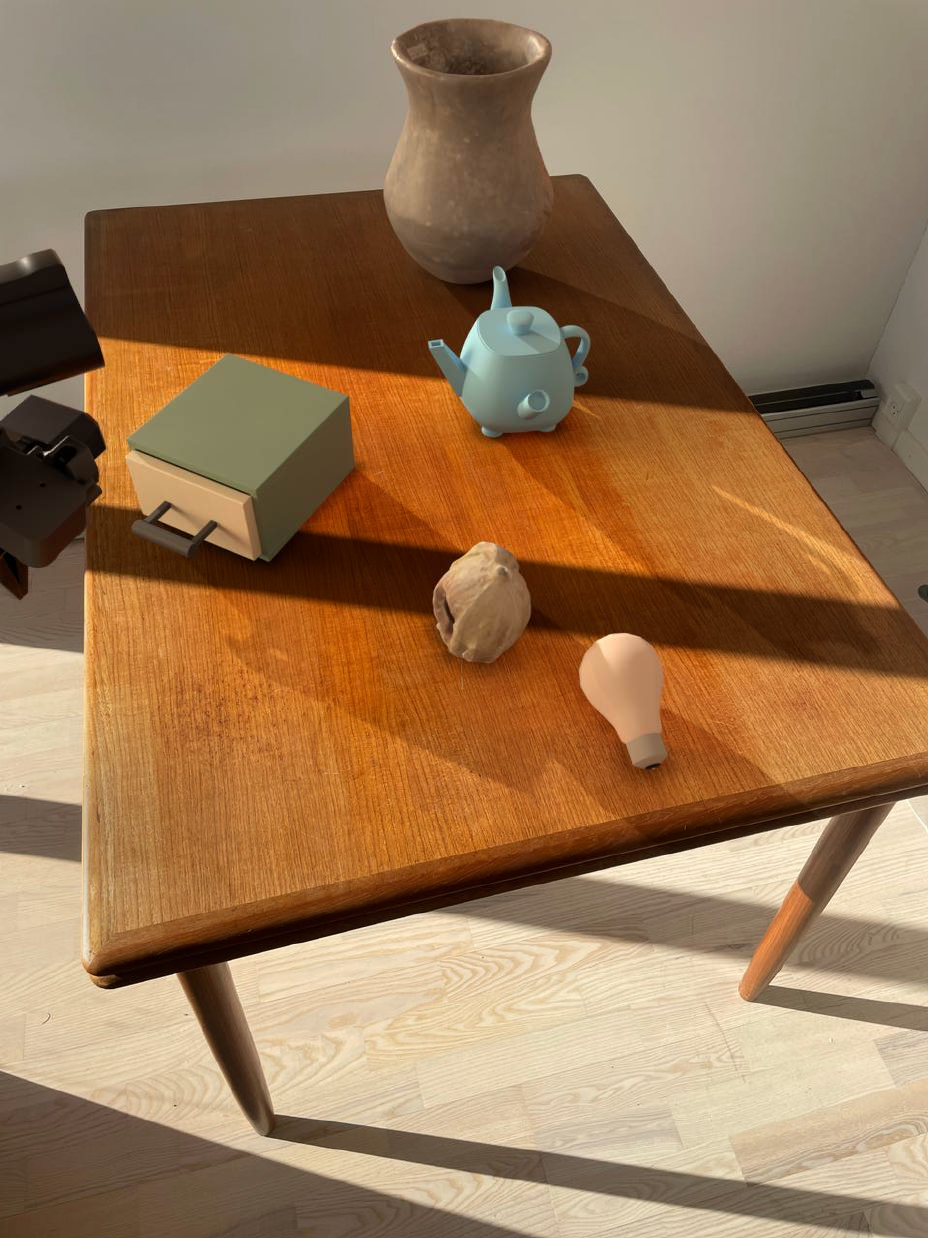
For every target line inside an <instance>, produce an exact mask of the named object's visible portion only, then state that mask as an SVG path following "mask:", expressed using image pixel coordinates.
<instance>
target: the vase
mask: <svg viewBox="0 0 928 1238" xmlns="http://www.w3.org/2000/svg"><path fill="white" fill-rule="evenodd" d="M390 52H391V55H392V58H393V61H394V63H395V65H396V67H397V69H398V71H399V73H400V75H401V77H402V79H403V82H404V85H405V88H406V94H407V99H408V105H407V106H408V108H407V112H406V113H407V114H406V117H405V121H404V125H403V128H402V131H401V134H400V136H399V140H398V142H397V145H396V148H395V151H394V153H393V156H392V159H391V161H390V164H389V167H388V170H387V173H386V177H385V180H384V185H383V201H384V205H385V210H386V214H387V217H388V220H389V222H390V224H391V227H392V229H393V231H394V233H395V235H396V236H397V238H398V240H399V242H400V243H401V245H402V246H403V247H404V249H405V251H406V252H407V253H408V255H410V257H411V258H412V259H413V260H414V261H415V262H416V263H417V265H419V266H420V267H421V268H423V269H424V270H425V271H426V272H428V273H429V274H431V275H432V276H433V277H435V278H437V279H439V280H441V281H444V282H447V283H451V284H455V285H476V284H481V283H485V282H488V281H490V280H494V278H493V269H494V267H496V266H499V267H501V268H502V269H503V271H504V272H505V273H506V272H508V271H509V270H511V269H512V268H513V267H515V266H516V265H518V264H519V263H520V262H521V261H522V260H523V259H524V258H526V256H527V255H528V254H529V253H530V252H531V250H532V249H533V248H534V247H535V245H537V243H538V241H539V240H540V239H541V237H542V235H543V233H545V230H546V228H547V226H548V223H549V221H550V218H551V215H552V212H553V210H554V203H555V195H554V189H553V182H552V178H551V176H550V174H549V171H548V169H547V166H546V164H545V161H544V158H543V155H542V152H541V150H540V146H539V143H538V139H537V135H536V130H535V126H534V123H533V118H532V106H533V100H534V97H535V95H536V92H537V91H538V88H539V86H540V83H541V80H542V78H543V76H544V74H545V73H546V71H547V69H548V66H549V64H550V61H551V60H552V59H551V58H552V55H553V47H552V42H551V41H550V40H549V39H548V38H547V37H546V36H544V35H543V34H542V33H540V32H538V31H536V30H534V29H530V28H527V27H523V26H520V25H517V24H514V23H510V22H505V21H502V20H496V19H491V18H489V19H488V18H466V17H462V18H461V17H457V18H455V17H454V18H445V19H438V20H432V21H426V22H423V23H419V24H416V25H415V26H413V27H410V28H409V29H407V30H405V31H403V32H401V33H400V34H398V35H397V36H396V37H395V38H393V40H392V42H391V46H390Z"/></svg>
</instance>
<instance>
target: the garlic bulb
mask: <svg viewBox="0 0 928 1238" xmlns="http://www.w3.org/2000/svg"><path fill="white" fill-rule="evenodd" d="M530 594H531V593H530V591H529V589H528V586H527V583H526V581H525V579H524V577H523V575H521V573H520V565H519V563H518V561H517V559H516V558H515V557H514V555H513V553H512V552H511V551H510V550H508V549H507V548H505V547H503V546H501V545H499V544H496V543H494V542H487V541H480V542H478V543H477V544H475V545H474V546H472V547H471V549H470V550H468V551H467V552H466V553H465V554H464V555H463V556H461V557H460V558H458V559H456V560H454V561H453V562H452V563H451V565H450V567H449V570H448V571H447V572H445V574H444V575H443V576H442V577H441V578H440V579H439V581H438V582H437V584H436V586H435V588H434V590H433V597H432V605H433V614H434V616H435V618H436V620H437V623H436V625H435V627H436V629H437V630H438V631H439V635H440V637H441V639H442V642H443V643H444V644H445V645H446V646H447V648H448V652H449V653H450V654H452V655H453V656H454V657H457V658H458V659H459V658H460V659H464V660H465V661H467V662H469V663H484V664H491V663H494V661H496V660H497V659H498V658H499V657H500V656H501V655H502V654H504V653H505V652H506V651H508V650H509V649H510V648H511V647H512V646H514V644H516V642H517V640H519V638H520V637H521V635H522V634H523V632H524V631H525V629H526V627H527V625H528V623H529V621H530V619H531V614H532V604H531V595H530Z"/></svg>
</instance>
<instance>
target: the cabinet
mask: <svg viewBox="0 0 928 1238" xmlns="http://www.w3.org/2000/svg"><path fill="white" fill-rule="evenodd" d="M126 442H127V445H128V449H129V453H130V452H132V451H133V450H136V451H139V452H141V453H144V454H146V455H149V456H151V457H154V456H156V457H158V458H161V459H163V460H166V461H168V462H171V463H173V464H176V465H178V466H181V467H183V468H186V469H188V470H191V471H193V472H196V473H198V474H201V475H204V476H206V477H209V478H211V479H214V480H216V481H219V482H221V483H224V484H226V485H229V486H231V487H234V488H236V489H239V490H241V491H244V492H246V493H249V494H250V496H251V498H252V503H253V508H254V513H255V519H256V524H257V529H258V534H259V540H260V545H261V550H262V553H261V554H260V555H259V557H258V558H259V559H261V560H264V561H266V562H268V563H270V562H271V561H272V560H273V559H274V558H275V556H276V555H277V554H278V553H280V551H281V550H282V549H283V548H284V547H285V545H286V544H287V543H288V542H289V541H290V540H291V539H292V538H293V536H294V535H295V534H297V532H298V531H299V530H300V529H301V527H303V526H304V524H305V523H306V522H307V521H308V520H309V519H310V518H311V516H312V515H313V514H314V513H315V512H316V511H317V510H318V509H319V508H320V507H321V505H322V504H324V502H325V501H326V500H328V498H329V497H330V496H331V494H332V493H334V491H335V490H336V489H337V488H338V487H339V485H340V484H342V483H343V481H344V480H345V479H346V478H347V477H348V476H349V475H350V474H351V473H352V471H353V470H355V467H356V465H355V455H354V454H355V451H354V441H353V427H352V413H351V403H350V395H348V394H345V393H342V392H339V391H337V390H334V389H332V388H331V389H330V388H328V387H325V386H324V385H323V386H322V385H319V384H316V383H313V382H312V381H308V380H306V379H303V378H300V377H297V376H294V375H291V374H289V373H285V372H283V371H280V370H277V369H275V368H272V367H268V366H265V365H263V364H261V363H257V362H255V361H251V360H249V359H246V358H243V357H240V356H237V355H234V354H232V353H229V352H227V353H226V354H224V355H223V356H222V357H221V358H220V359H218V360H217V361H216V362H215V363H214V364H213V365H212V366H210V367H209V368H208V369H206V370H205V371H204V372H203V373H201V375H200V376H199V377H197V378H196V379H195V380H194V381H192V382H191V383H190V384H189V385H187V386H186V388H184V389H183V390H182V391H181V392H179V394H177V395H176V396H175V397H174V398H172V400H170V401H169V402H168V403H167V404H165V405H164V406H163V407H161V408H160V409H159V410H158V411H157V412H156V413H155V414H154V415H153V416H151V417H150V418H149V419H148V420H146V421H145V422H144V423H143V424H142V425H141V426H139V427H138V428H137V429H136V430H135V431H134V432H132V433H131V434H130V435H129V436H128V437H127V438H126Z"/></svg>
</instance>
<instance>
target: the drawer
mask: <svg viewBox="0 0 928 1238" xmlns="http://www.w3.org/2000/svg"><path fill="white" fill-rule="evenodd" d="M125 461H126V464H127V467H128V471H129V474H130V477H131V480H132V484H133V487H134V490H135V493H136V496H137V500H138V503H139V506H140V509H141V512H142V514H143V515H144V516H147V517H145V519H136V520H135V521H134V522H133V524H132V526H131V533H132V535H133V536H136V537H139V538H141V539H143V540H145V541H148V542H150V543H153V544H155V545H157V546H160V547H161V548H165V549H167V550H169V551H171V552H173V553H176V554H179V555H181V556H183V557H185V558H188V559H191V560H192V559H194V558H195V557H196V556H197V554H198V553H199V546H200V545H201V544H203V542H204V541H206V542H208V543H211V544H213V545H216V546H217V547H220V548H223V549H225V550H228V551H230V552H232V553H234V554H237V555H238V556H239V555H240V556H242V557H244V558H247V559H249V560H251V561H253V562H255V561H256V560H257V559H258V558H259V555H260V554H261V553H262V550H261V545H260V540H259V534H258V529H257V524H256V519H255V513H254V508H253V503H252V498H251V496H250V494H249V495H247V494H244V493H242V492H239V491H237V490H234V489H232V488H229V487H227V486H224V485H222V484H219V483H217V482H214V481H211V480H209V479H206V478H204V477H201V476H199V475H196V474H194V473H191V472H189V471H186V470H187V469H186V468H183V467H181V466H178V465H176V464H173V463H171V462H168V461H166V460H163V459H161V458H158V457H156V456H154V457H151V456H149V455H146V454H144V453H141V452H139V451H136V450H133V451H132V452H130V451H129V453H128V454H127V455H126V456H125ZM156 522H161V523H164V524H166V525H168V526H170V527H173V528H175V529H177V530H180V531H182V532H185V533H187V534H190V535H192V536H193V537H192V538H191V539H190V540H189V539H187V538H185V537H183V536H180V535H177V534H176V533H173V532H171V531H168V530H166V529H164V528H161V527H159V526H157V525H155V524H156Z"/></svg>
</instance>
